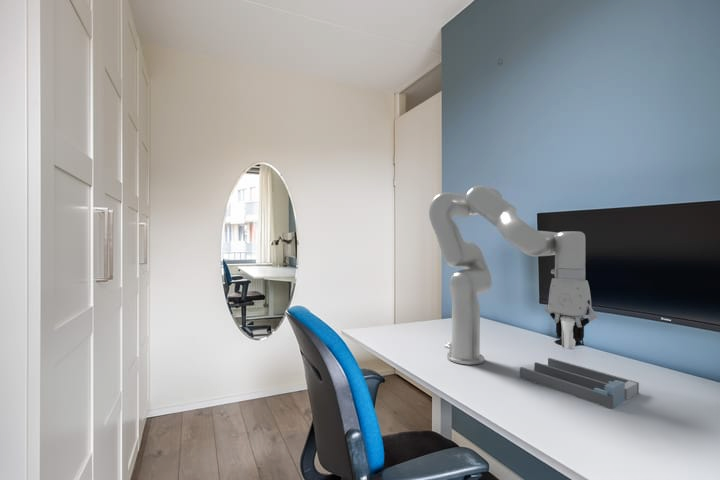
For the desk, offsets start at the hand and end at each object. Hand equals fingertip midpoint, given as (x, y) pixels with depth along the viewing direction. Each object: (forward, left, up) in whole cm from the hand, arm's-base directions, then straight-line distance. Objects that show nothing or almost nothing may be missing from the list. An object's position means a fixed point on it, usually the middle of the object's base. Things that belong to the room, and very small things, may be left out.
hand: (569, 337), depth 105 cm
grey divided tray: (0, +4, -14) cm, 15 cm away
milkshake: (0, 0, -3) cm, 3 cm away
